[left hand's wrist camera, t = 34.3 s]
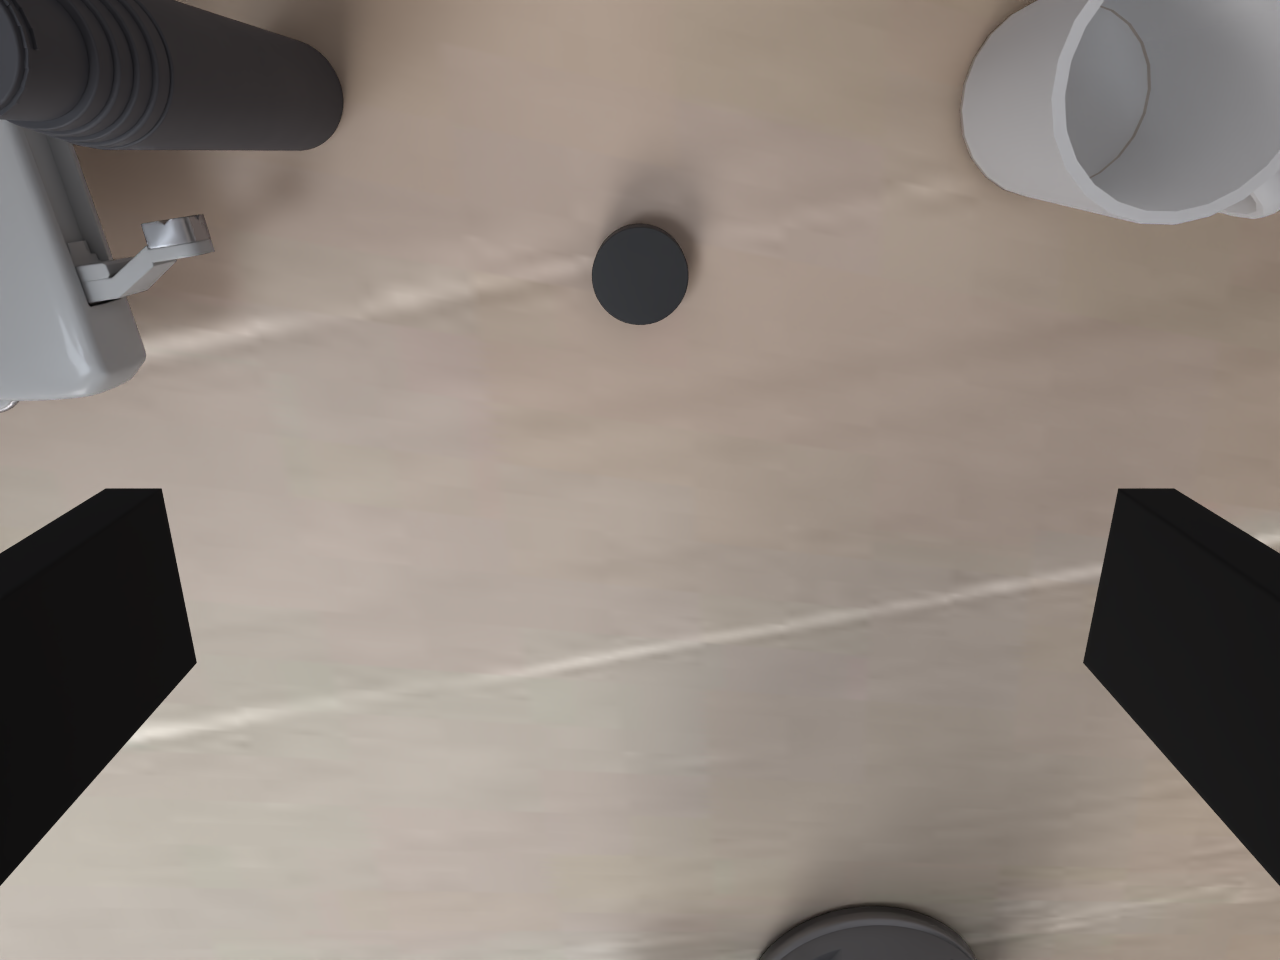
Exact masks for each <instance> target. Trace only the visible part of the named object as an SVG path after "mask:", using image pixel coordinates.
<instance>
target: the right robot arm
mask: <svg viewBox="0 0 1280 960" xmlns="http://www.w3.org/2000/svg"><path fill="white" fill-rule="evenodd" d="M141 226H142V229H143V232H144V235H145V239H146V242H147V245H148V246H146V247H145V248H143V249H142V250H141V251H140V252H139V253H138V254H137V255H136V256H135V257H134V258H133V257H128V258H121V259H114V260H113V257H112V254H111V252H110V249H109V246H108V243H107V240H106V237H105V234H104V232H103V229H102V226H101V223H100V220H99V217H98V214H97V212H96V209H95V206H94V203H93V200H92V197H91V195H90V192H89V189H88V186H87V183H86V180H85V177H84V175H83V172H82V169H81V166H80V163H79V160H78V158H77V155H76V152H75V149H74V146H73V144H72V143H69V142H66V141H63V140H60V139H56V138H53V137H50V136H48V135H46V134H42V133H39V132H36V131H33V130H31V129H27V128H24V127H20V126H18V125H15V124H13V123H10V122H9V121H7V120H0V413H2V412H5V411H7V410H9V409H11V408H13V407H14V406H15V405H16V404H17V403H18V402H19V401H41V400H59V399H70V398H79V397H86V396H92V395H96V394H99V393H102V392H105V391H107V390H110V389H112V388H115V387H117V386H119V385H121V384H124V383H126V382H127V381H129V380H130V379H131V378H132V377H133V376H134V375H135V374H136V372H137V371H138V370H139V368H140V367H141V366H142V364H143V363H144V361H145V359H146V352H145V348H144V345H143V342H142V339H141V337H140V334H139V331H138V328H137V325H136V323H135V320H134V317H133V314H132V311H131V308H130V306H129V303H128V300H127V297H126V296H128V295H132V294H135V293H139V292H143V291H146V290H148V289H149V288H150V287H151V286H152V285H153V284H154V283H155V282H156V281H157V280H158V279H159V278H160V277H161V276H162V275H163V274H164V273H165V272H166V271H167V270H168V269H169V268H170V267H171V266H172V265H173V264H174V263H175V262H176V261H177V259H180V258H186V257H192V256H197V255H202V254H206V253H210V252H215V250H214V247H213V244H212V241H211V237H210V234H209V231H208V228H207V225H206V222H205V218H204V215H203V214H202V215H194V216H187V217H181V218H174V219H169V220H162V221H155V222H149V223H143V224H141Z"/></svg>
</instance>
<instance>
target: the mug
mask: <svg viewBox="0 0 1280 960" xmlns="http://www.w3.org/2000/svg"><path fill="white" fill-rule="evenodd" d="M960 118H961V128H962V136H963V139H964V141H965V144H966V147H967V149H968V152H969V154H970V157H971V159H972V160H973V162H974V163H975V164H976V166H977V167H978V168H979V169H980V171H981V172H982V173H983V175H984V176H985V177H986V178H988V179H989V180H991V181H992V182H993V183H995V184H996V185H998V186H999V187H1000V188H1002V189H1003V190H1006V191H1009V192H1013V193H1016V194H1019V195H1022V196H1025V197H1030V198H1034V199H1038V200H1042V201H1047V202H1051V203H1055V204H1059V205H1063V206H1067V207H1072V208H1076V209H1080V210H1084V211H1088V212H1092V213H1097V214H1101V215H1105V216H1109V217H1113V218H1117V219H1122V220H1126V221H1130V222H1134V223H1140V224H1172V225H1176V224H1180V223H1184V222H1188V221H1192V220H1197V219H1201V218H1205V217H1209V216H1212V215H1214V214H1216V213H1218V212H1219V213H1223V214H1227V215H1230V216H1236V217H1243V218H1251V219H1256V218H1263V217H1266V216H1269V215H1272V214H1274V213H1276V212H1277V211H1279V210H1280V0H1037V1H1035V2H1033V3H1031V4H1029V5H1028V6H1026V7H1024V8H1022V9H1021V10H1019V11H1017V12H1015V13H1013V14H1012V15H1010V16H1009V17H1008V18H1007V19H1006V20H1005V21H1004V22H1002V23H1001V24H1000V25H999V26H998V27H997V28H996V29H995V30H994V31H993V32H992V33H991V34H990V35H989V36H988V38H987V39H986V40H985V42H984V43H983V45H982V46H981V48H980V49H979V51H978V52H977V54H976V55H975V57H974V58H973V61H972V63H971V66H970V69H969V71H968V74H967V76H966V79H965V81H964V84H963V91H962V98H961V105H960Z"/></svg>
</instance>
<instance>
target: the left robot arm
mask: <svg viewBox="0 0 1280 960" xmlns="http://www.w3.org/2000/svg"><path fill="white" fill-rule="evenodd" d="M196 663H197V662H196V657H195V652H194V647H193V642H192V637H191V632H190V627H189V622H188V617H187V612H186V607H185V602H184V597H183V592H182V587H181V582H180V577H179V572H178V568H177V563H176V558H175V553H174V548H173V543H172V538H171V533H170V528H169V523H168V518H167V513H166V508H165V503H164V498H163V493H162V489H104V490H103V491H101V492H99V493H98V494H96V495H95V496H93V497H91V498H90V499H88V500H86V501H85V502H83V503H82V504H80V505H78V506H77V507H75V508H73V509H72V510H70V511H69V512H67V513H65V514H64V515H62V516H60V517H59V518H57V519H56V520H54V521H52V522H51V523H49V524H47V525H46V526H44V527H43V528H41V529H39V530H38V531H36V532H34V533H33V534H31V535H30V536H28V537H26V538H25V539H23V540H21V541H20V542H18V543H17V544H15V545H13V546H12V547H10V548H8V549H7V550H5V551H4V552H2V553H0V886H1V884H2V883H3V882H4V881H5V880H6V879H7V878H8V876H9V875H10V874H11V873H12V872H13V871H14V870H15V869H16V867H17V866H18V865H19V864H20V863H21V862H22V861H23V859H24V858H25V857H26V856H27V855H28V854H29V853H30V851H31V850H32V849H33V848H34V847H35V846H36V845H37V844H38V842H39V841H40V840H41V839H42V838H43V837H44V836H45V834H46V833H47V832H48V831H49V830H50V829H51V828H52V827H53V825H54V824H55V823H56V822H57V821H58V820H59V819H60V817H61V816H62V815H63V814H64V813H65V812H66V811H67V809H68V808H69V807H70V806H71V805H72V804H73V803H74V802H75V800H76V799H77V798H78V797H79V796H80V795H81V794H82V792H83V791H84V790H85V789H86V788H87V787H88V786H89V785H90V783H91V782H92V781H93V780H94V779H95V778H96V777H97V775H98V774H99V773H100V772H101V771H102V770H103V769H104V767H105V766H106V765H107V764H108V763H109V762H110V761H111V760H112V758H113V757H114V756H115V755H116V754H117V753H118V752H119V750H120V749H121V748H122V747H123V746H124V745H125V744H126V742H127V741H128V740H129V739H130V738H131V737H132V736H133V735H134V733H135V732H136V731H137V730H138V729H139V728H140V727H141V725H142V724H143V723H144V722H145V721H146V720H147V719H148V718H149V716H150V715H151V714H152V713H153V712H154V711H155V710H156V708H157V707H158V706H159V705H160V704H161V703H162V702H163V700H164V699H165V698H166V697H167V696H168V695H169V694H170V693H171V691H172V690H173V689H174V688H175V687H176V686H177V685H178V683H179V682H180V681H181V680H182V679H183V678H184V677H185V676H186V674H187V673H188V672H189V671H190V670H191V669H192V668H193V666H194V665H195V664H196ZM1083 663H1084V664H1085V665H1086V666H1087V668H1088V669H1089V670H1090V671H1091V672H1092V673H1093V674H1094V676H1095V677H1096V678H1097V679H1098V680H1099V681H1100V682H1101V683H1102V685H1103V686H1104V687H1105V688H1106V689H1107V690H1108V691H1109V693H1110V694H1111V695H1112V696H1113V697H1114V698H1115V699H1116V700H1117V702H1118V703H1119V704H1120V705H1121V706H1122V707H1123V708H1124V710H1125V711H1126V712H1127V713H1128V714H1129V715H1130V716H1131V718H1132V719H1133V720H1134V721H1135V722H1136V723H1137V724H1138V725H1139V727H1140V728H1141V729H1142V730H1143V731H1144V732H1145V733H1146V735H1147V736H1148V737H1149V738H1150V739H1151V740H1152V741H1153V742H1154V744H1155V745H1156V746H1157V747H1158V748H1159V749H1160V750H1161V752H1162V753H1163V754H1164V755H1165V756H1166V757H1167V758H1168V760H1169V761H1170V762H1171V763H1172V764H1173V765H1174V766H1175V767H1176V769H1177V770H1178V771H1179V772H1180V773H1181V774H1182V775H1183V777H1184V778H1185V779H1186V780H1187V781H1188V782H1189V783H1190V785H1191V786H1192V787H1193V788H1194V789H1195V790H1196V791H1197V792H1198V794H1199V795H1200V796H1201V797H1202V798H1203V799H1204V800H1205V802H1206V803H1207V804H1208V805H1209V806H1210V807H1211V808H1212V809H1213V811H1214V812H1215V813H1216V814H1217V815H1218V816H1219V817H1220V819H1221V820H1222V821H1223V822H1224V823H1225V824H1226V825H1227V827H1228V828H1229V829H1230V830H1231V831H1232V832H1233V833H1234V834H1235V836H1236V837H1237V838H1238V839H1239V840H1240V841H1241V842H1242V844H1243V845H1244V846H1245V847H1246V848H1247V849H1248V850H1249V851H1250V853H1251V854H1252V855H1253V856H1254V857H1255V858H1256V859H1257V861H1258V862H1259V863H1260V864H1261V865H1262V866H1263V867H1264V869H1265V870H1266V871H1267V872H1268V873H1269V874H1270V875H1271V876H1272V878H1273V879H1274V880H1275V881H1276V882H1277V883H1278V884H1279V886H1280V553H1278V552H1276V551H1275V550H1273V549H1272V548H1270V547H1268V546H1267V545H1265V544H1263V543H1262V542H1260V541H1259V540H1257V539H1255V538H1254V537H1252V536H1250V535H1249V534H1247V533H1246V532H1244V531H1242V530H1241V529H1239V528H1237V527H1236V526H1234V525H1233V524H1231V523H1229V522H1228V521H1226V520H1224V519H1223V518H1221V517H1220V516H1218V515H1216V514H1215V513H1213V512H1211V511H1210V510H1208V509H1207V508H1205V507H1203V506H1202V505H1200V504H1198V503H1197V502H1195V501H1194V500H1192V499H1190V498H1189V497H1187V496H1185V495H1184V494H1182V493H1181V492H1179V491H1177V490H1176V489H1118V493H1117V498H1116V503H1115V508H1114V513H1113V518H1112V523H1111V528H1110V533H1109V538H1108V543H1107V548H1106V553H1105V558H1104V563H1103V567H1102V572H1101V577H1100V582H1099V587H1098V592H1097V597H1096V602H1095V607H1094V612H1093V617H1092V622H1091V627H1090V632H1089V637H1088V642H1087V647H1086V652H1085V657H1084V662H1083ZM759 960H976V958H975V956H974V954H973V952H972V951H971V949H970V948H969V946H968V945H967V944H966V942H965V941H964V940H963V939H962V938H961V937H960V936H959V935H958V934H957V933H955V932H954V931H953V930H952V929H950V928H949V927H947V926H946V925H944V924H943V923H941V922H939V921H937V920H935V919H933V918H931V917H928V916H926V915H923V914H920V913H917V912H914V911H910V910H905V909H900V908H892V907H879V906H872V907H856V908H849V909H843V910H838V911H834V912H830V913H827V914H824V915H821V916H818V917H815V918H813V919H811V920H808V921H806V922H804V923H802V924H800V925H798V926H796V927H795V928H793V929H792V930H790V931H788V932H787V933H786V934H784V935H783V936H782V937H780V938H779V939H778V940H777V941H776V942H774V943H773V944H772V945H771V946H770V947H769V948H768V949H767V951H766V952H765V953H764V954H763V955H762V957H761V958H760V959H759Z"/></svg>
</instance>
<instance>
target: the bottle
mask: <svg viewBox="0 0 1280 960" xmlns="http://www.w3.org/2000/svg"><path fill="white" fill-rule="evenodd" d="M342 109H343V96H342V90H341V85H340V82H339V79H338V77H337V75H336V73H335V71H334V69H333V68H332V66H331V64H330V63H329V62H328V61H327V59H326V58H325V57H324V56H323V55H322V54H321V53H319V52H318V51H317V50H316V49H314V48H313V47H311V46H309V45H308V44H305V43H303V42H301V41H297V40H294V39H291V38H288V37H285V36H282V35H279V34H276V33H273V32H270V31H267V30H264V29H261V28H257V27H254V26H251V25H248V24H245V23H242V22H239V21H236V20H233V19H230V18H227V17H224V16H221V15H217V14H214V13H211V12H208V11H205V10H202V9H199V8H196V7H193V6H190V5H187V4H184V3H181V2H177V1H174V0H0V120H7V121H9V122H10V123H13V124H15V125H18V126H20V127H24V128H27V129H31V130H33V131H36V132H39V133H42V134H46V135H48V136H50V137H53V138H56V139H60V140H63V141H66V142H69V143H72V144H75V145H79V146H85V147H91V148H96V149H103V150H299V151H301V150H308V149H312V148H315V147H317V146H319V145H321V144H322V143H324V142H325V141H326V140H327V139H329V138H330V136H331V135H332V134H333V133H334V131H335V130H336V128H337V126H338V124H339V122H340V119H341V115H342Z"/></svg>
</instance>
